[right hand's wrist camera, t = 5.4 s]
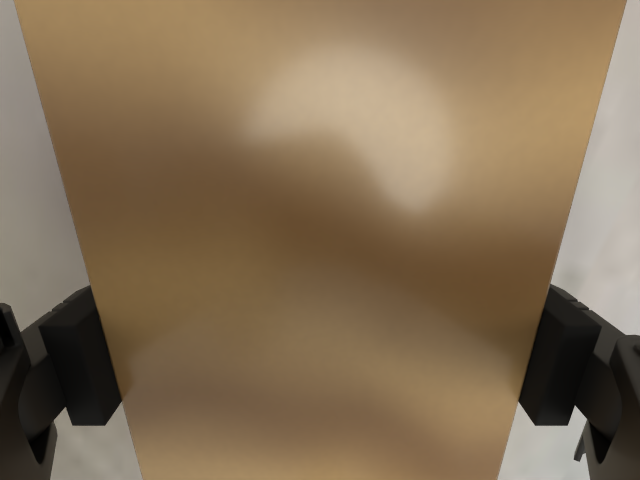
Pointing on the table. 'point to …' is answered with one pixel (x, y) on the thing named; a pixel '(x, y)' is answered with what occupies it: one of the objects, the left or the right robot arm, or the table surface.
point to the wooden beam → (320, 218)
